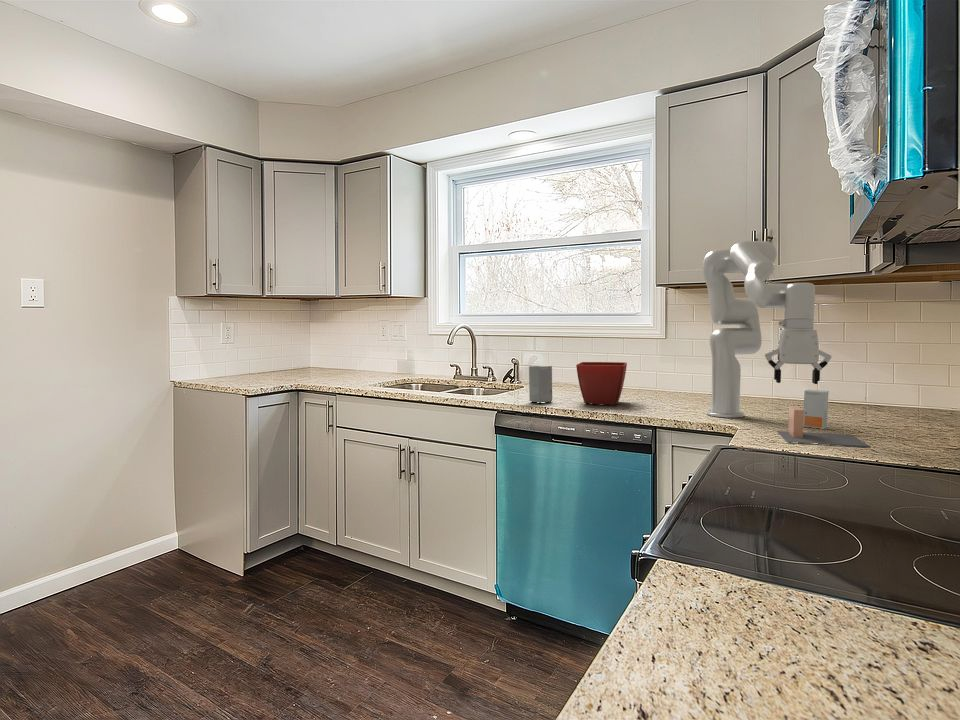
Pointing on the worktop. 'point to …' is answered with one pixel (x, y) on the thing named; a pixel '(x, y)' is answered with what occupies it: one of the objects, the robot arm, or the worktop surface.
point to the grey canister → (540, 383)
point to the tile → (796, 421)
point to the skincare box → (815, 408)
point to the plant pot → (601, 381)
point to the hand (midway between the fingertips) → (796, 383)
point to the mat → (824, 439)
